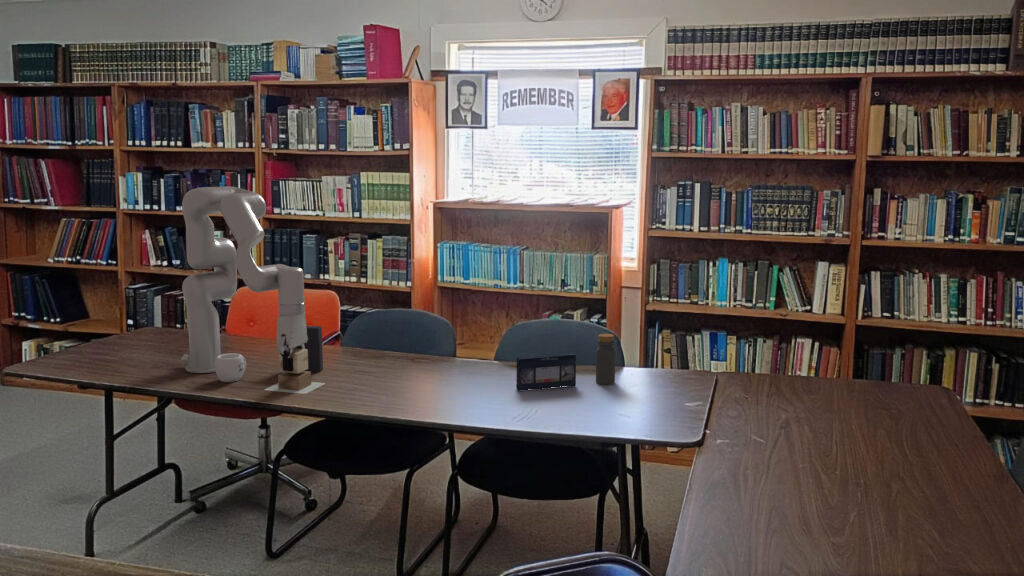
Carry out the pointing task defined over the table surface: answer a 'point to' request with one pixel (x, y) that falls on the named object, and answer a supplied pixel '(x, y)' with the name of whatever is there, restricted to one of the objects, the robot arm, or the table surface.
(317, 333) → the black upright slab
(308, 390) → the board
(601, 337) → the bottle
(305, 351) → the maple cube
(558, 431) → the table surface
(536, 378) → the vhs cassette tape
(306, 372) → the walnut block
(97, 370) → the table surface
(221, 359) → the mug
